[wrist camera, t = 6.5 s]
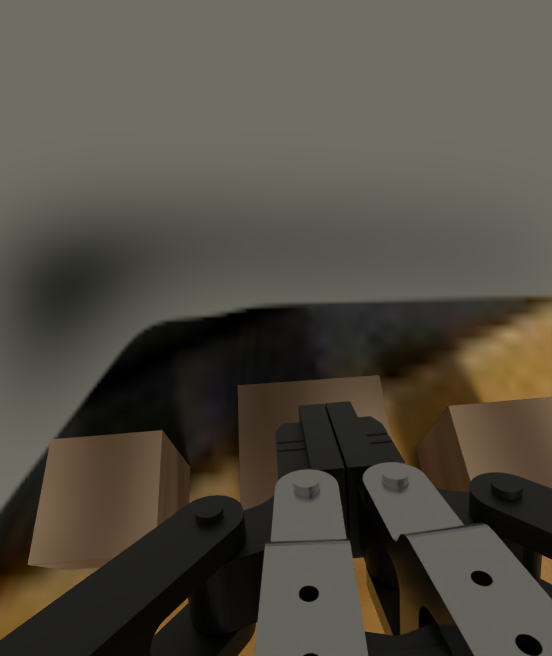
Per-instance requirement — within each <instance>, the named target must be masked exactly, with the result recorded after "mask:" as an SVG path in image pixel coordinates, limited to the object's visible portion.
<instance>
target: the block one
mask: <svg viewBox="0 0 552 656" xmlns="http://www.w3.org/2000/svg"><path fill="white" fill-rule="evenodd" d="M415 448H416V452H417V456H418V461H419V465H420V469H421V471H422V472H423V473H424V474H425V475H426V476H427V478H428V479H429V480H430V482H431V483H432V484H433V485H434V487H435V488H439V489H444V490H451V491H460V492H469V487H470V482H471V480H472V479H473V478H474V477H476V476H478V475H480V474H484V473H491V472H499V473H507V474H512V475H516V476H519V477H522V478H525V479H528V480H530V481H533V482H536V483H539V484H541V485H544V486H547V487H549V488H552V397H545V398H534V399H522V400H511V401H499V402H487V403H476V404H464V405H453V406H448V407H447V408H446V410H445V411H444V412H443V413H442V415H441V416H440V417H439V418H438V420H437V421H436V422H435V423H434V425H433V426H432V427H431V428H430V430H429V431H428V432H427V433H426V435H425V436H424V437H423V438H422V440H421V441H420V442H419V443H418V445H417V446H416V447H415Z"/></svg>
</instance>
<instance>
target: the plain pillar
mask: <svg viewBox="0 0 552 656" xmlns="http://www.w3.org/2000/svg"><path fill="white" fill-rule="evenodd" d="M346 401H350V402H351V404H352V406H353V408H354V410H355V412H356V414H357V416H358V417H365V416H371V417H373V418H374V419H376V420H377V421H379V422H381V423H382V424H383V426H384V427H385V429H386V431H387V432H388V435H389V436H390V438H391V433H390V427H389V422H388V417H387V412H386V407H385V402H384V397H383V392H382V387H381V382H380V377H379V375H377V376H363V377H348V378H334V379H320V380H306V381H292V382H278V383H264V384H249V385H238V419H239V467H240V504H241V505H242V507H243V510H246V509H249V508H252V507H255V506H258V505H260V504H262V503H264V502H266V501H267V500H269V499H270V498H271V497H272V496H273V495H274V494H275V486H276V484H277V482H278V467H277V451H276V434H275V433H276V431H277V430H278V429H279V427H280V426H281V425H282V424H284V423H296V422H299V405H311V404H324V407H325V403H334V402H346ZM391 439H392V438H391Z"/></svg>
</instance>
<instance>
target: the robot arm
mask: <svg viewBox="0 0 552 656" xmlns="http://www.w3.org/2000/svg"><path fill="white" fill-rule="evenodd" d="M275 434H276V451H277V467H278V482H277V484H276V486H275V494H274V495H273V496H272V497H271V498H270V499H269V500H267V501H266V502H264V503H262V504H260V505H258V506H255V507H252V508H249V509H246V510H243V507H242V505H241V504H240V503H239V502H238V501H237V500H235V499H233V498H231V497H227V496H219V495H216V496H207V497H203V498H200V499H197V500H195V501H193V502H191V503H189V504H187V505H186V506H185V507H183V508H182V509H180V510H179V511H178V512H176V513H175V514H174V515H172V516H171V517H169V518H168V519H167V520H165V521H164V522H163V523H161V524H160V525H158V526H157V527H156V528H154V529H153V530H151V531H150V532H149V533H147V534H146V535H145V536H143V537H142V538H140V539H139V540H138V541H136V542H135V543H134V544H132V545H131V546H129V547H128V548H127V549H125V550H124V551H123V552H121V553H120V554H118V555H117V556H116V557H114V558H113V559H112V560H110V561H109V562H107V563H106V564H105V565H103V566H102V567H101V568H99V569H98V570H96V571H95V572H94V573H92V574H91V575H89V576H88V577H87V578H85V579H84V580H83V581H81V582H80V583H78V584H77V585H76V586H74V587H73V588H72V589H70V590H69V591H67V592H66V593H65V594H63V595H62V596H61V597H59V598H58V599H56V600H55V601H54V602H52V603H51V604H50V605H48V606H47V607H45V608H44V609H43V610H41V611H40V612H39V613H37V614H36V615H34V616H33V617H32V618H30V619H29V620H27V621H26V622H25V623H23V624H22V625H21V626H19V627H18V628H16V629H15V630H14V631H12V632H11V633H10V634H8V635H7V636H5V637H4V638H3V639H1V640H0V656H238V654H239V653H240V652H241V651H242V650H243V648H244V647H245V646H246V645H247V644H248V642H249V641H250V639H251V638H252V636H253V634H254V631H255V627H256V622H257V632H256V643H255V653H254V656H552V585H551V584H550V583H548V582H546V581H544V580H542V579H540V575H541V562H542V555H543V556H545V557H548V558H550V559H552V488H549V487H547V486H544V485H541V484H539V483H536V482H533V481H530V480H528V479H525V478H522V477H519V476H516V475H512V474H507V473H499V472H491V473H484V474H480V475H478V476H476V477H474V478H473V479H472V480H471V482H470V487H469V492H460V491H451V490H444V489H439V488H435V487H434V485H433V484H432V483H431V482H430V480H429V479H428V478H427V476H426V475H425V474H424V473H423V472H422V471H420V470H419V469H417V468H415V467H413V466H411V465H407V464H405V462H404V460H403V458H402V457H401V455H400V453H399V451H398V450H397V448H396V446H395V445H394V443H392V439H391V438H390V436H389V435H388V432H387V431H386V429H385V427H384V426H383V424H382V423H381V422H379V421H377V420H376V419H374V418H373V417H371V416H365V417H358V416H357V414H356V412H355V410H354V408H353V406H352V404H351V402H350V401H346V402H334V403H325V407H324V404H311V405H299V422H296V423H284V424H282V425H281V426H280V427H279V429H278V430H277V431H276V433H275ZM360 557H364V559H365V563H366V578H367V587H368V590H369V593H370V596H371V598H372V601H373V604H374V606H375V609H376V612H377V614H378V617H379V619H380V622H381V625H382V627H383V630H384V633H385V634H378V633H371V632H364V625H363V619H362V613H361V607H360V600H359V594H358V588H357V582H356V576H355V569H354V563H353V558H360ZM187 598H188V602H189V603H188V604H187V605H186V606H185V607H184V608H183V609H182V610H181V611H180V612H179V613H178V614H177V615H176V616H174V617H173V618H172V619H171V620H170V621H169V622H168V623H167V624H166V625H165V626H164V627H163V628H162V629H161V630H160V631H159V632H158V633H157V634H156V635H155V636H154V634H155V632H156V630H157V629H158V627H159V625H160V624H161V623H162V622H163V621H164V620H165V619H166V618H167V617H168V616H169V615H170V614H171V613H172V612H173V611H174V610H175V609H176V608H177V607H178V606H179V605H180V604H181V603H183V602H184V601H185V600H186V599H187ZM153 636H154V637H153Z"/></svg>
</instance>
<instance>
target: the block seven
mask: <svg viewBox="0 0 552 656" xmlns="http://www.w3.org/2000/svg"><path fill="white" fill-rule="evenodd" d="M189 490H190V466H189V465H188V463H187V462H186V461H185V460H184V458H183V457H182V456H181V454H180V453H179V452H178V450H177V449H176V448H175V446H174V445H173V444H172V442H171V441H170V440H169V438H168V437H167V436H166V434H165V433H164V432H163V430H159V431H147V432H135V433H123V434H111V435H99V436H88V437H76V438H64V439H52V440H51V442H50V447H49V452H48V458H47V463H46V469H45V474H44V480H43V485H42V490H41V496H40V501H39V507H38V512H37V517H36V523H35V528H34V534H33V539H32V544H31V550H30V555H29V561H28V565H34V566H41V567H48V568H55V569H62V570H69V571H77V572H84V573H94V572H95V571H96V570H98V569H99V568H101V567H102V566H103V565H105V564H106V563H107V562H109V561H110V560H112V559H113V558H114V557H116V556H117V555H118V554H120V553H121V552H123V551H124V550H125V549H127V548H128V547H129V546H131V545H132V544H134V543H135V542H136V541H138V540H139V539H140V538H142V537H143V536H145V535H146V534H147V533H149V532H150V531H151V530H153V529H154V528H156V527H157V526H158V525H160V524H161V523H163V522H164V521H165V520H167V519H168V518H169V517H171V516H172V515H174V514H175V513H176V512H178V511H179V510H180V509H182V508H183V507H185V506H186V505H187V504H189Z"/></svg>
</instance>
